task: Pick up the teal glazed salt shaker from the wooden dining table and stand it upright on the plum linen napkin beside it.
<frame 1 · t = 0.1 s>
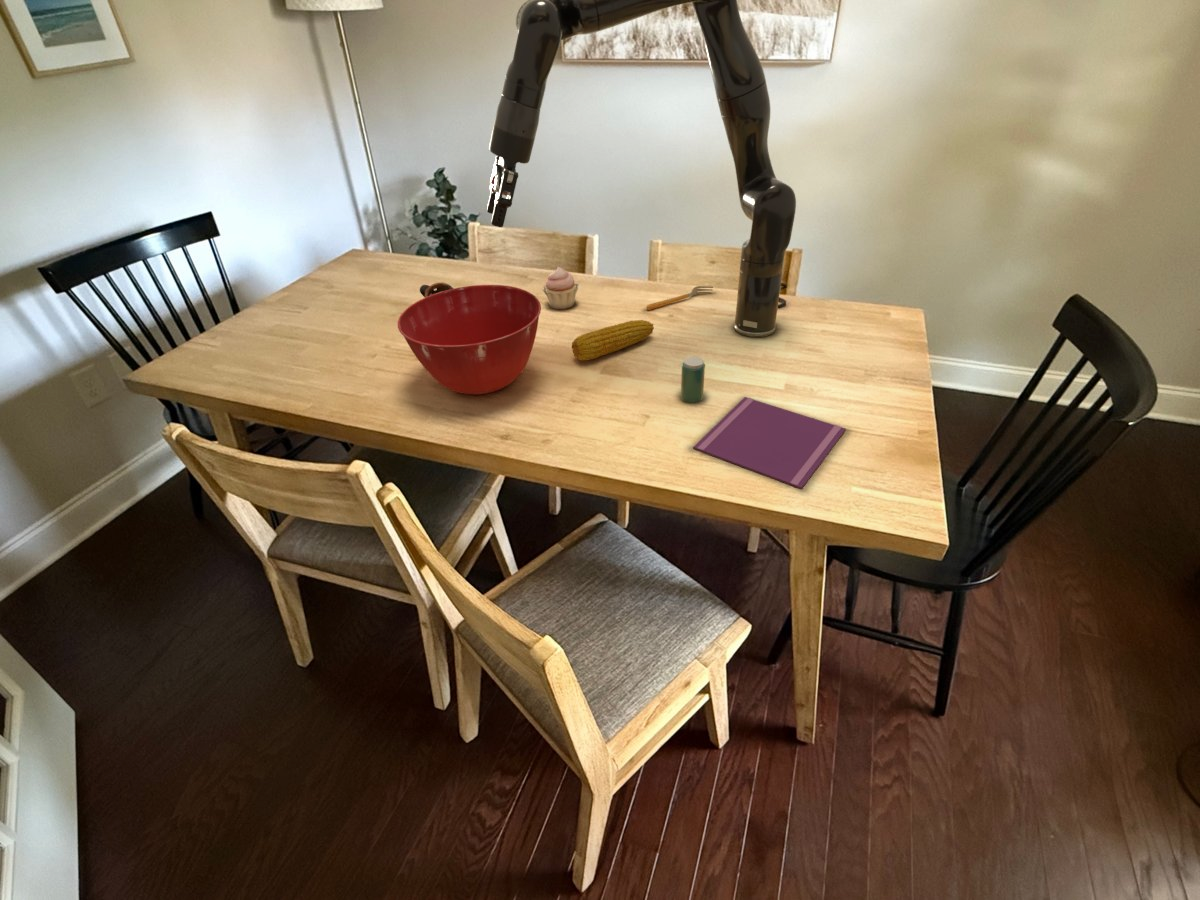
hand: (494, 219, 122), 31 cm above the table, tool tilted 20°, fingers open, 8 cm apart
mixing bowl: (481, 379, 136), on the table
food: (613, 350, 145), on the table
napkin: (770, 439, 114), on the table
fork: (679, 302, 164), on the table
pottery mug: (441, 310, 167), on the table
salt shaker: (691, 396, 127), on the table
cupcake: (561, 305, 166), on the table
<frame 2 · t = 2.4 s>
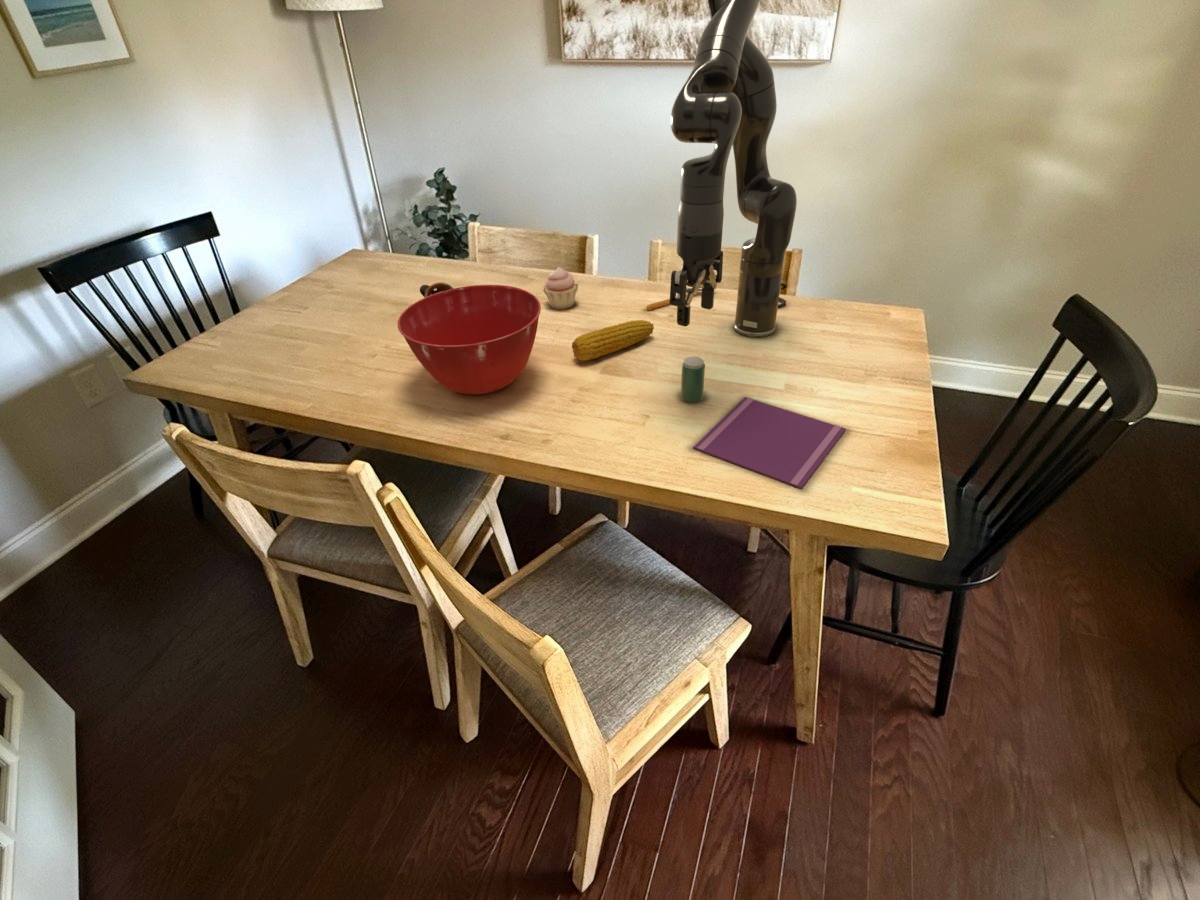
hand: (695, 316, 117), 17 cm above the table, tool pointing down, fingers open, 8 cm apart
nothing on the table moved.
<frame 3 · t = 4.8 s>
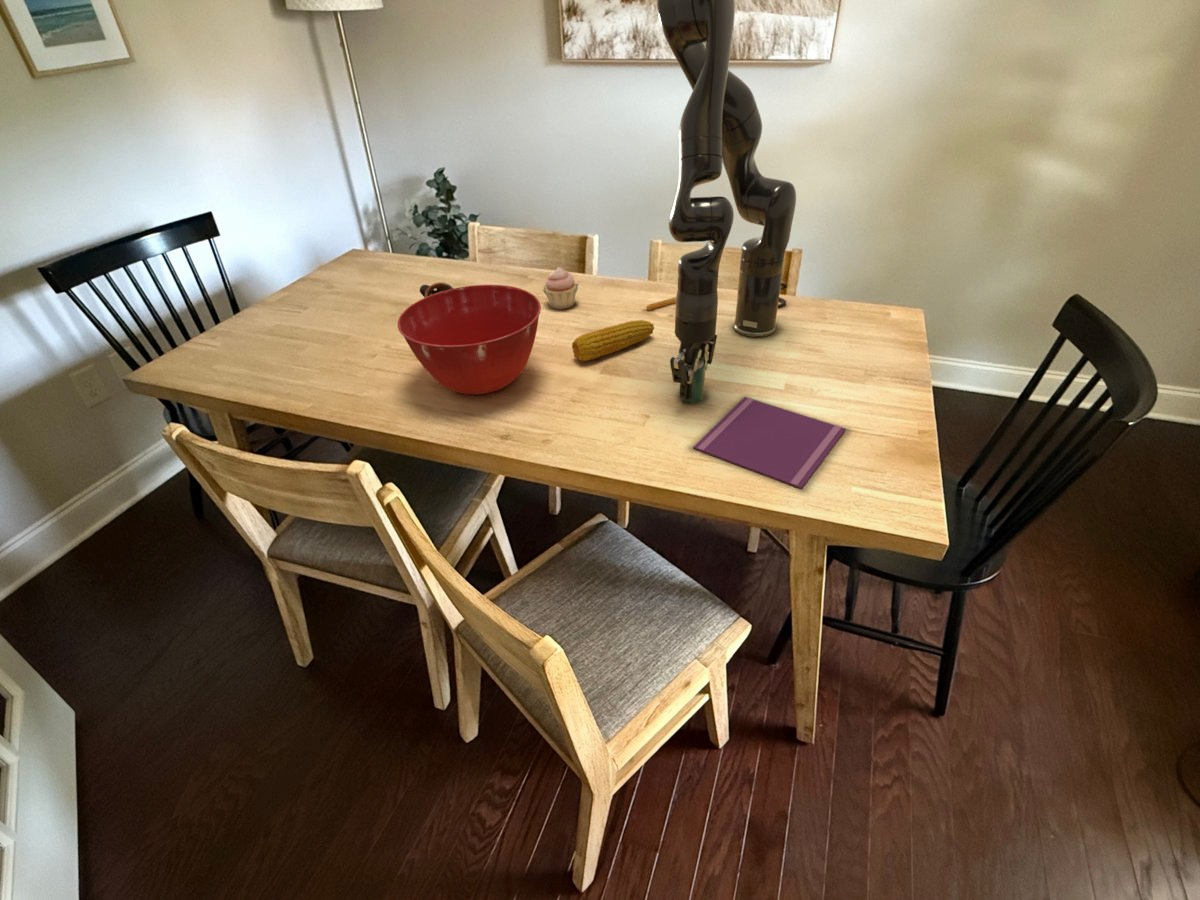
hand: (692, 391, 126), 1 cm above the table, tool pointing down, fingers closed on salt shaker, 4 cm apart
salt shaker: (691, 396, 127), on the table, touching gripper
everything else where it was.
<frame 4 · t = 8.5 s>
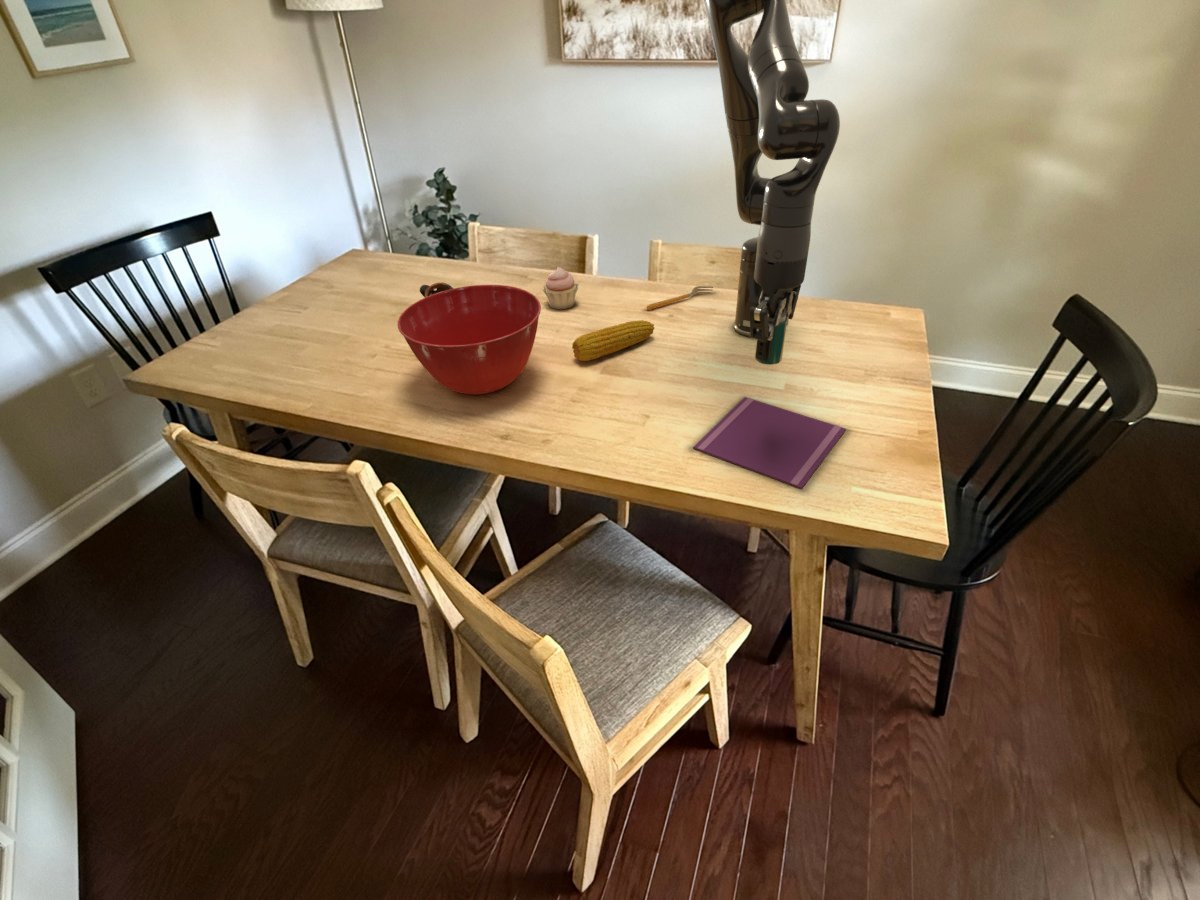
hand: (769, 352, 106), 17 cm above the table, tool pointing down, fingers closed on salt shaker, 4 cm apart
salt shaker: (768, 358, 107), point 15 cm above the table, touching gripper
everything else where it was.
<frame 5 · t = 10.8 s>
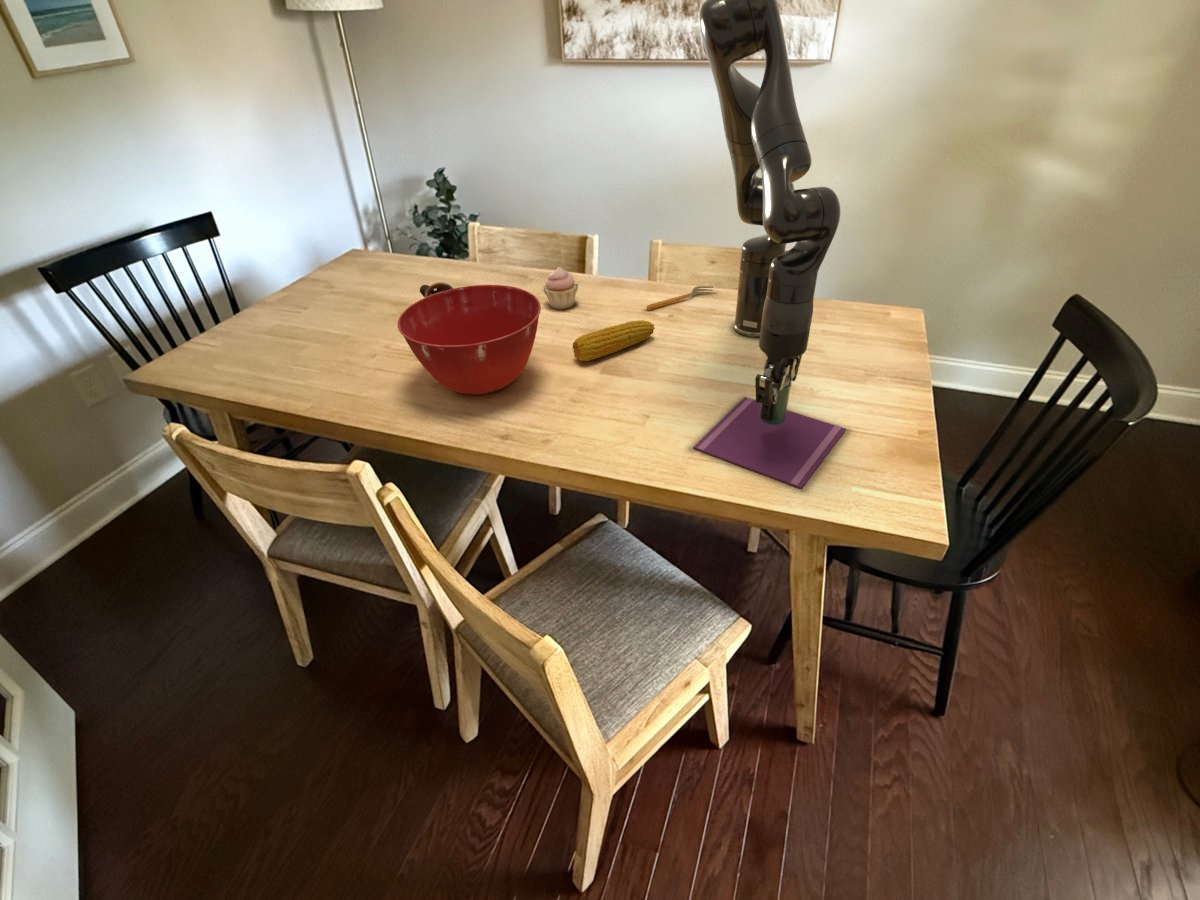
hand: (773, 412, 111), 6 cm above the table, tool pointing down, fingers closed on salt shaker, 4 cm apart
salt shaker: (772, 417, 111), point 5 cm above the table, touching gripper
everything else where it was.
when the fingers open (2 cm above the table, at t = 12.3 s): salt shaker stays where it is, resting on napkin.
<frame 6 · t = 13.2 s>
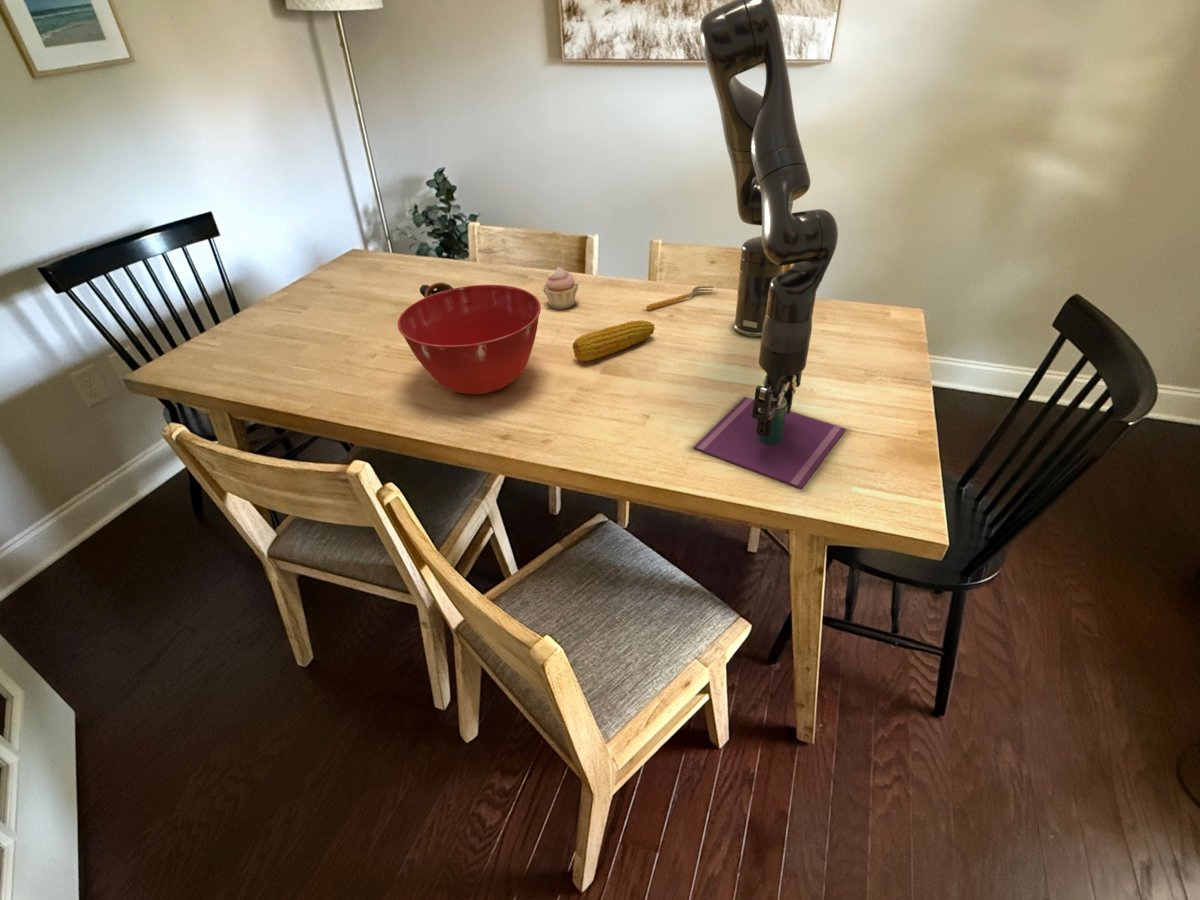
hand: (773, 423, 112), 3 cm above the table, tool pointing down, fingers open, 8 cm apart
salt shaker: (769, 437, 114), resting on napkin
everything else where it was.
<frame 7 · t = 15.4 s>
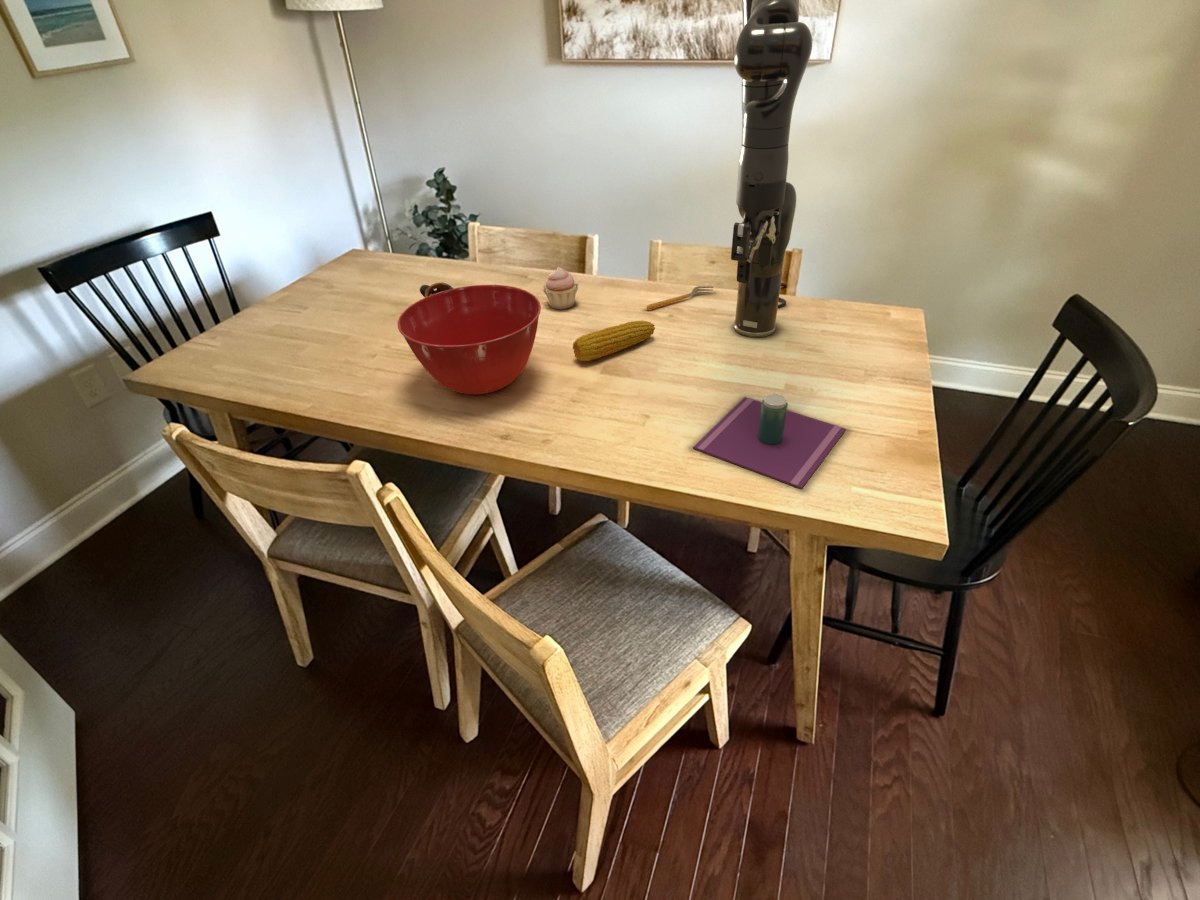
hand: (753, 273, 111), 25 cm above the table, tool pointing down, fingers open, 8 cm apart
nothing on the table moved.
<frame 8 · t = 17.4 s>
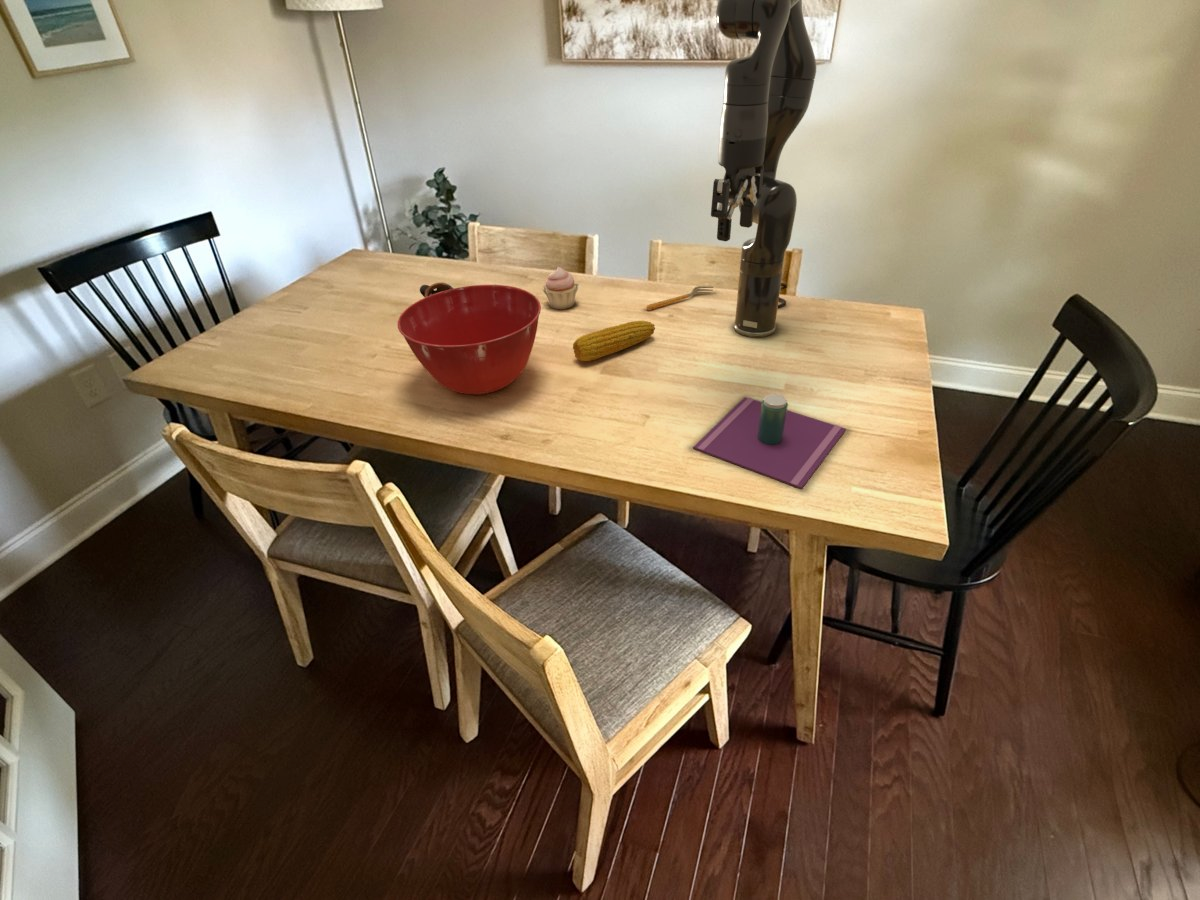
hand: (734, 233, 114), 30 cm above the table, tool pointing down, fingers open, 8 cm apart
nothing on the table moved.
at the end: salt shaker inside the target area on the napkin (0.1 cm from its centre), point 0.4 cm above the napkin's base; salt shaker tilted 0°; the gripper is holding nothing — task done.
